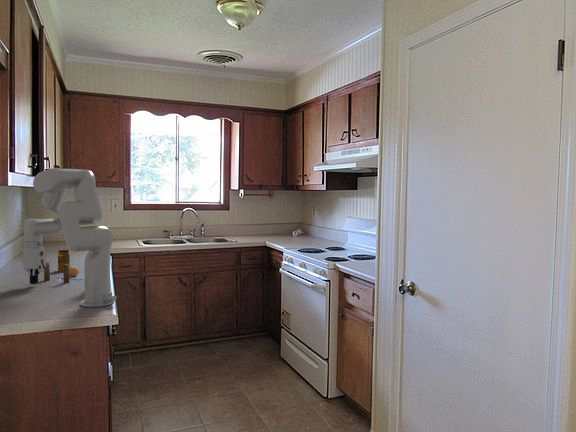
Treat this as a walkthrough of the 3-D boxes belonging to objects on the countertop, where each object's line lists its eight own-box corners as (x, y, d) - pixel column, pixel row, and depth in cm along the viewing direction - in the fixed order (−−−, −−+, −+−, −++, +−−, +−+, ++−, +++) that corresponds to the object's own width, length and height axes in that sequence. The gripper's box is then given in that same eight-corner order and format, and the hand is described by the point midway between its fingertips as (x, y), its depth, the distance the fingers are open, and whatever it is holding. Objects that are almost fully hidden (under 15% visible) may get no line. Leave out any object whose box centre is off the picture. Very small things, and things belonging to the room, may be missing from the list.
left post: (51, 280, 224) (50, 262, 223) (46, 281, 221) (46, 263, 221) (47, 279, 225) (46, 262, 224) (42, 280, 222) (42, 262, 222)
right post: (70, 282, 220) (70, 264, 219) (66, 283, 217) (66, 265, 217) (66, 281, 221) (66, 263, 220) (62, 282, 218) (62, 264, 218)
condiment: (54, 271, 249) (54, 250, 248) (67, 269, 257) (67, 248, 256) (63, 272, 246) (63, 251, 245) (76, 270, 254) (76, 249, 253)
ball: (77, 265, 233) (72, 274, 229) (82, 270, 237) (77, 279, 234) (68, 263, 234) (63, 273, 230) (73, 268, 238) (68, 278, 235)
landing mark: (98, 275, 239) (98, 275, 239) (78, 280, 225) (78, 279, 225) (78, 273, 243) (78, 273, 243) (57, 277, 230) (57, 277, 230)
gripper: (52, 244, 209) (52, 283, 210) (28, 243, 214) (29, 280, 215) (38, 246, 202) (39, 286, 203) (14, 244, 207) (15, 283, 208)
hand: (34, 283), depth 209 cm, fingers closed
